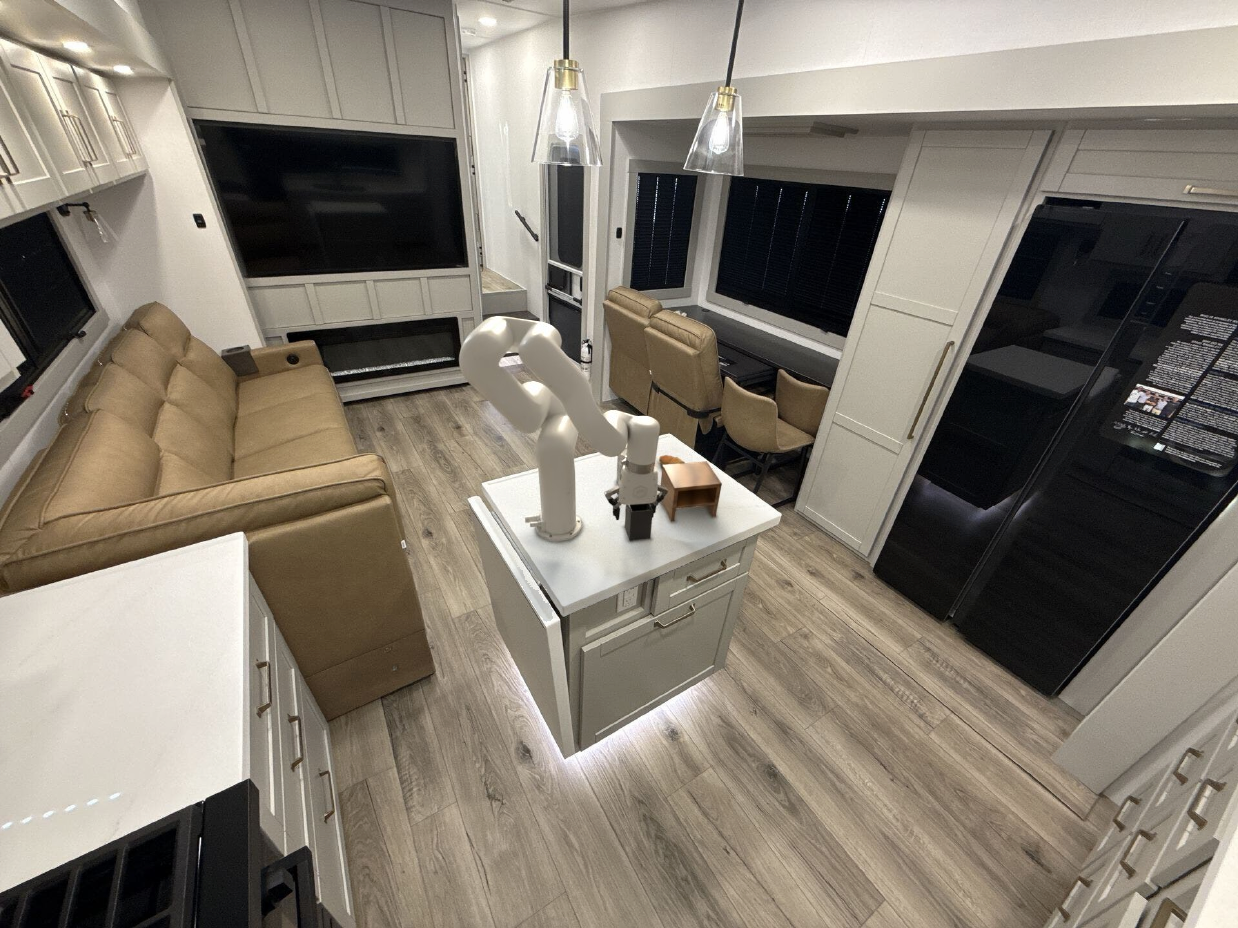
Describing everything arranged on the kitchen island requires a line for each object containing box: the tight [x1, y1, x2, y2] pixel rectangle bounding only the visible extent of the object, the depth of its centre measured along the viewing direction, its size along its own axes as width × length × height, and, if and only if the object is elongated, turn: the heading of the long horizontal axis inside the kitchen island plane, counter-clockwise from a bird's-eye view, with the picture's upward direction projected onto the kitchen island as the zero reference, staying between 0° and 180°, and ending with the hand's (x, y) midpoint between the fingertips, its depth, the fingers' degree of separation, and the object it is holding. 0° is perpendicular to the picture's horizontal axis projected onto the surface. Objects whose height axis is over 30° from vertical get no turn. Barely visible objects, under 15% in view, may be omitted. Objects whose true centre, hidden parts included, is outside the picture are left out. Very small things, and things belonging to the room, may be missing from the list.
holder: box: [624, 503, 653, 542], centre depth 132 cm, size 6×6×10 cm
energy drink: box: [616, 448, 627, 486], centre depth 152 cm, size 5×5×12 cm
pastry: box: [658, 454, 686, 466], centre depth 164 cm, size 9×7×4 cm
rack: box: [660, 461, 723, 523], centre depth 143 cm, size 14×12×12 cm
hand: (633, 515), depth 132 cm, fingers open, 9 cm apart
